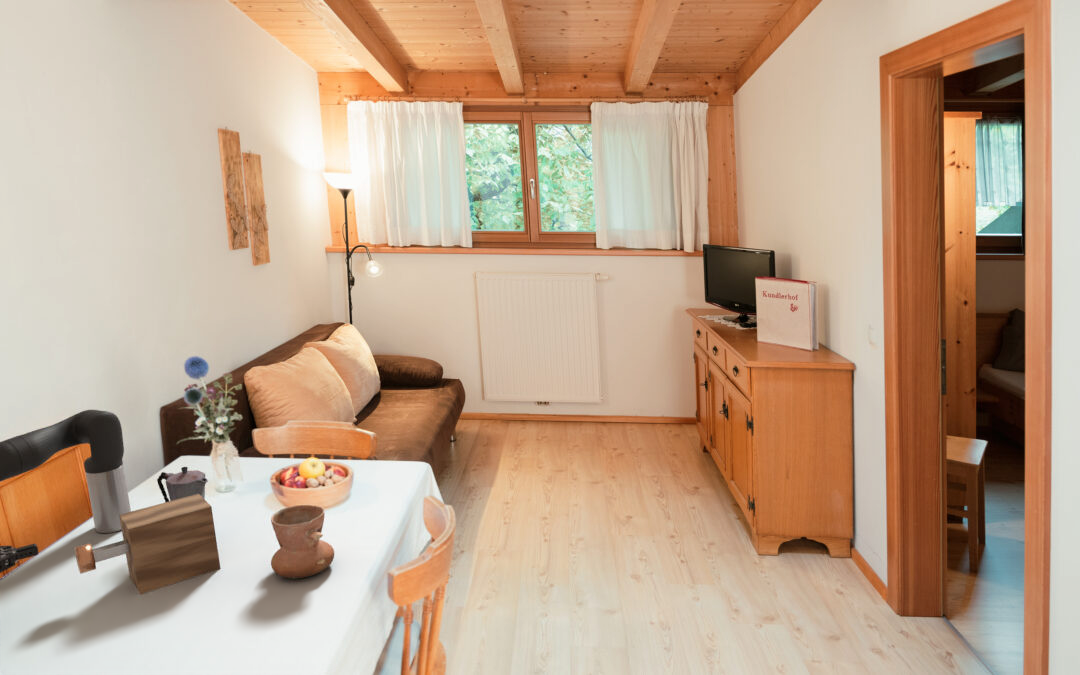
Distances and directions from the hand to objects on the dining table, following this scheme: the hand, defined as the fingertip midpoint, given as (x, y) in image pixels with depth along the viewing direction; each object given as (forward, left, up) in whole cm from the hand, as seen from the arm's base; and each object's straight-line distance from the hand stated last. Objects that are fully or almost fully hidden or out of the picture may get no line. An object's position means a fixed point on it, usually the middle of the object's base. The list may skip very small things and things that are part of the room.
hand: (37, 548), depth 176 cm
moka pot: (-18, +34, -16) cm, 42 cm away
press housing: (0, +26, -15) cm, 30 cm away
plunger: (0, +18, -8) cm, 19 cm away
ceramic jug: (+20, +50, -16) cm, 56 cm away
